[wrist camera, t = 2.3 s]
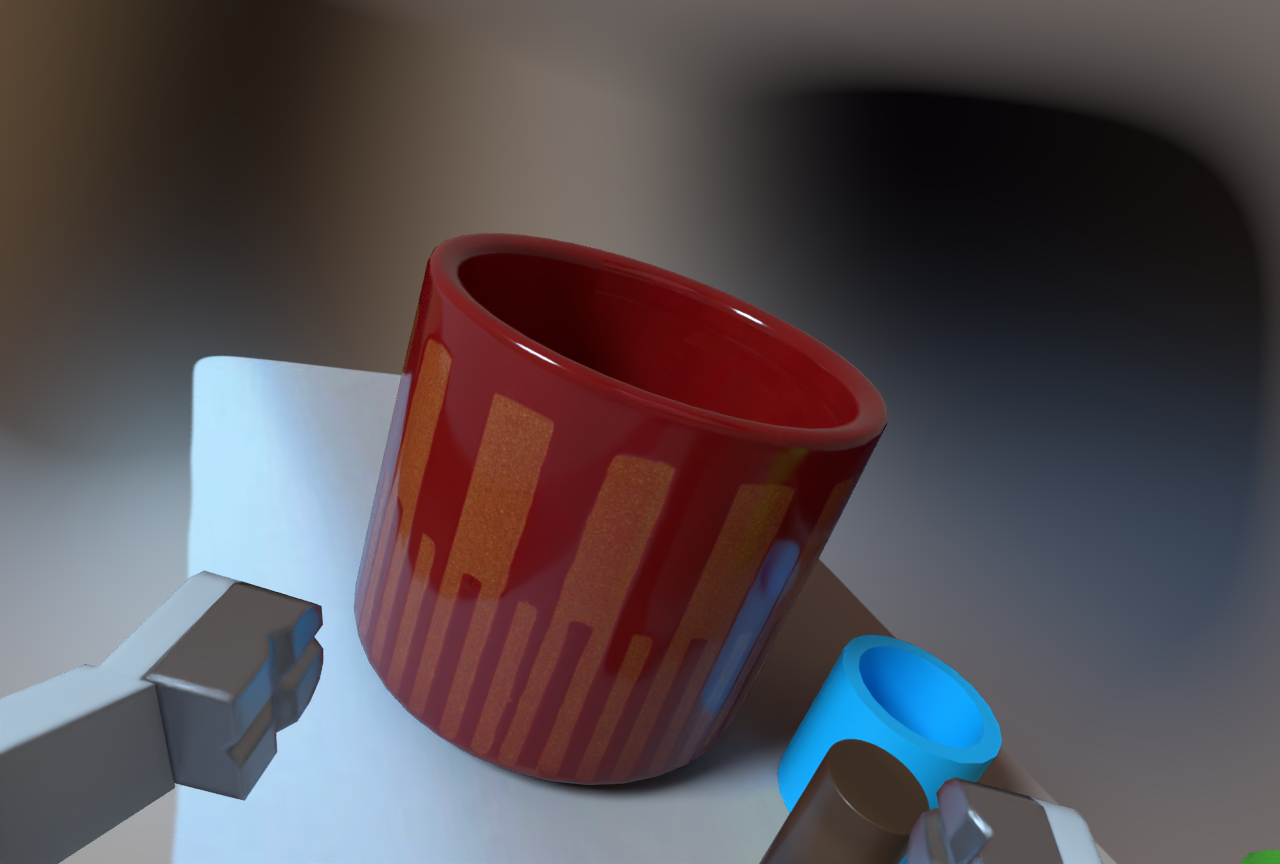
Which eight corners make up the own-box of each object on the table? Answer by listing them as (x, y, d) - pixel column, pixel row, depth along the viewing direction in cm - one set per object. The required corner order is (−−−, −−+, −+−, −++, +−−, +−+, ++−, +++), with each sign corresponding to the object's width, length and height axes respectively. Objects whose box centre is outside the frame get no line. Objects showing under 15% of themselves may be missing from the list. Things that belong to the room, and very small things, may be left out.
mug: (839, 894, 35) (921, 775, 31) (750, 749, 41) (811, 637, 38) (999, 846, 41) (1081, 743, 37) (899, 726, 47) (963, 628, 44)
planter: (357, 832, 30) (474, 387, 22) (343, 504, 48) (404, 197, 40) (805, 780, 40) (996, 466, 32) (653, 526, 59) (751, 286, 51)
